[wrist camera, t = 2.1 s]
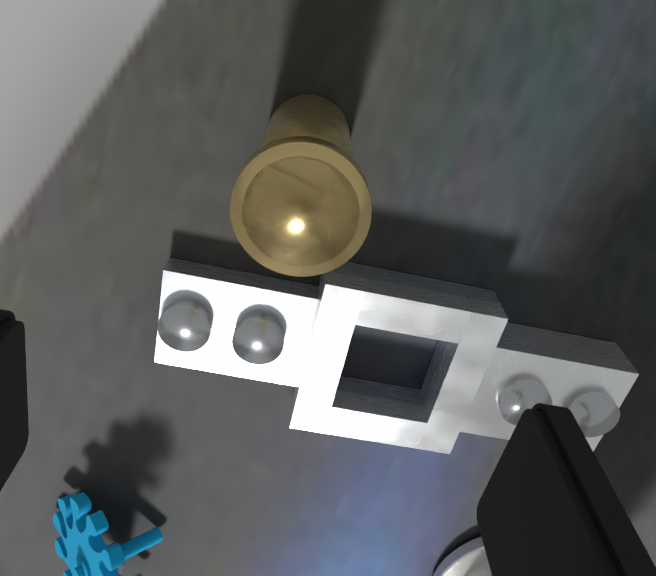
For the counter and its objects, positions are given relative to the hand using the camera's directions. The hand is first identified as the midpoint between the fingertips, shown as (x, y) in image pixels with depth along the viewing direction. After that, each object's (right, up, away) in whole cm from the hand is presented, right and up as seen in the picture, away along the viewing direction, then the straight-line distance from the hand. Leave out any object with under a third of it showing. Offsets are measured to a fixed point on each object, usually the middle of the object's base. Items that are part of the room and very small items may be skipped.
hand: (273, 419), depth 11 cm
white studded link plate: (+5, -1, +24) cm, 24 cm away
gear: (-17, -13, +32) cm, 38 cm away
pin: (0, +10, +18) cm, 20 cm away
